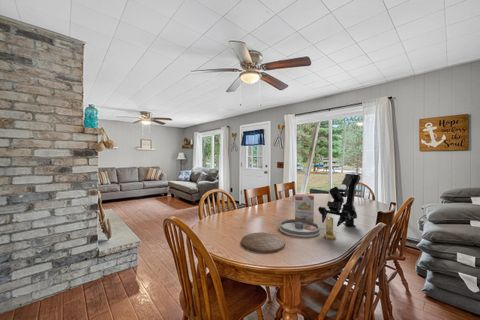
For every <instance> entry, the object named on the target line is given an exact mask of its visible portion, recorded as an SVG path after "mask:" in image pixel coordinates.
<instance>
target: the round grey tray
mask: <svg viewBox="0 0 480 320" xmlns="http://www.w3.org/2000/svg"><path fill="white" fill-rule="evenodd" d="M278 228H279V230H280V231H281V233H284V234H286V235H289V236H291V237H292V236H293V237H299V238H301V237H302V238H310V237H316V236H318V235H320V234H321V226H320V225H319V224H317V223H315V222H310V221H306V220H299V219H295V218H292V219H284V220H281V221H280V222H279V226H278Z"/></svg>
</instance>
